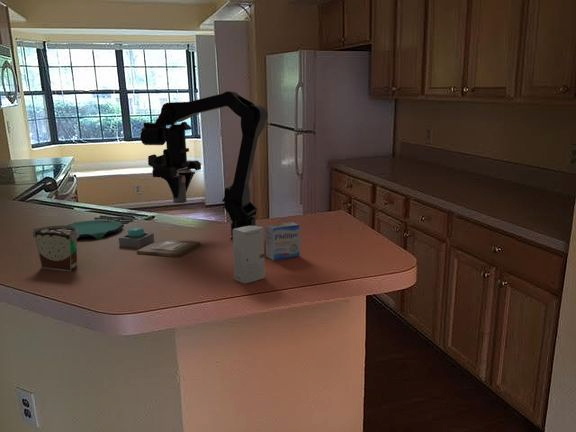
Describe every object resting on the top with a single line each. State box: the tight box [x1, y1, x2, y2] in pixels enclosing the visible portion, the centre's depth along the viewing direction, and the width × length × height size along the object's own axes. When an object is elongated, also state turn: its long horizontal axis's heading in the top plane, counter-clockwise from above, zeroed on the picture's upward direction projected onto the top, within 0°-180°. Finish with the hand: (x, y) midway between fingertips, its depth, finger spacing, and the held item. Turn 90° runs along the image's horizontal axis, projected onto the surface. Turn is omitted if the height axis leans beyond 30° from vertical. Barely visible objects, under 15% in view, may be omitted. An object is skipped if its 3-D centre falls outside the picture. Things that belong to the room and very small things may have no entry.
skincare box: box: [232, 225, 266, 285], centre depth 113 cm, size 6×4×12 cm
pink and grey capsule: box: [172, 175, 188, 204], centre depth 151 cm, size 4×4×8 cm
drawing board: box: [136, 238, 201, 258], centre depth 138 cm, size 13×12×1 cm
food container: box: [32, 224, 80, 272], centre depth 124 cm, size 12×6×10 cm, turn 71°
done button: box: [127, 227, 145, 238], centre depth 143 cm, size 4×4×2 cm
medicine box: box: [265, 221, 301, 262], centre depth 129 cm, size 8×4×9 cm, turn 118°
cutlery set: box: [68, 215, 139, 240], centre depth 163 cm, size 20×30×2 cm, turn 170°
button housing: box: [118, 231, 155, 249], centre depth 144 cm, size 7×7×3 cm
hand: (179, 196), depth 151 cm, fingers closed on pink and grey capsule, 4 cm apart
